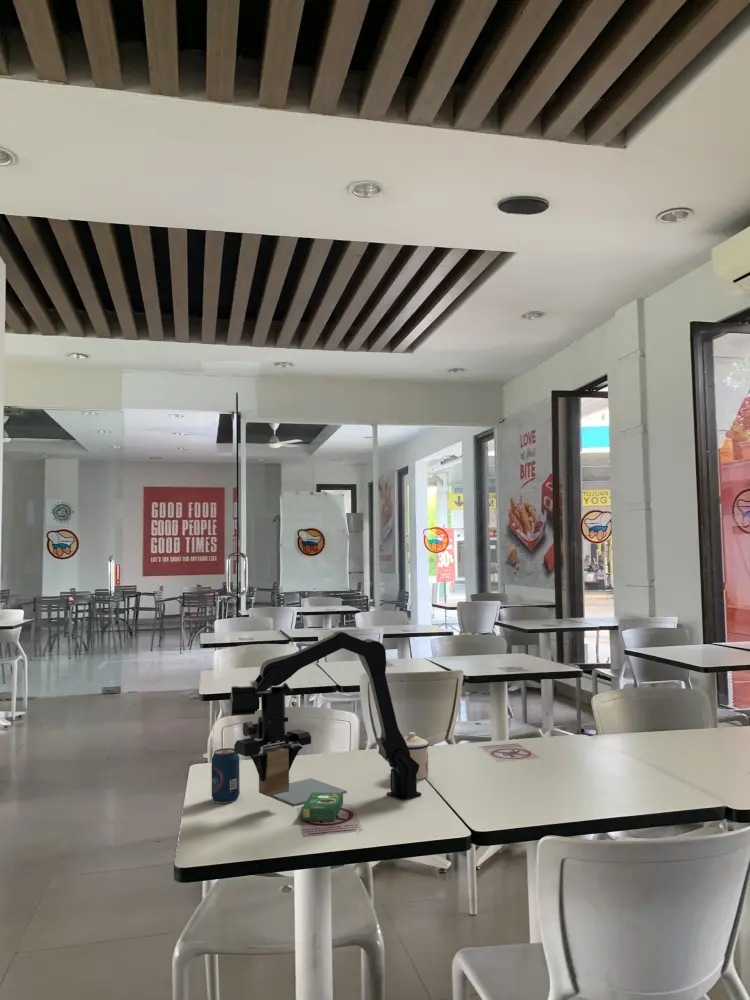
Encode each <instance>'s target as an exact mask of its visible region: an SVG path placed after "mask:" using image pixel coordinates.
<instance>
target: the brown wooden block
mask: <svg viewBox="0 0 750 1000" xmlns="http://www.w3.org/2000/svg"><path fill="white" fill-rule="evenodd" d="M263 753H265V754H267V760H266V774H265V781H264V782H262V781H261V780H260V777H259V776H258V793H259V794H261V795H264V796H266V797H272V796H271V795H275V794H279V793H283V792H288V791H289V783H290V770H289V749H288V748H285V747H282V746H280V745H277V746H272V747H267V748H263Z"/></svg>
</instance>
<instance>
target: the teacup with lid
mask: <svg viewBox="0 0 750 1000" xmlns="http://www.w3.org/2000/svg"><path fill="white" fill-rule="evenodd" d="M403 738H404V740H405V742H406V744H407V747H408V749H409V751H410V757H411V758H412V759H414V760H415V761H416V762H417V763H418V764H419V770H418V773H417V774H416V781H417V780H423V779H427V778H428V776H429V750H428V749H429V742H428V740H426V739H424V738H421V737H420V736H417V735H416V733H415V732H413V731H410V732H408V733H407V736H404V737H403Z"/></svg>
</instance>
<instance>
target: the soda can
mask: <svg viewBox="0 0 750 1000" xmlns="http://www.w3.org/2000/svg"><path fill="white" fill-rule="evenodd" d="M240 774H241V773H240V754H237V753H234V748H231V747H230V748H219V749H215V750H214V751H213V755H212V757H211V798H212V800H214V802H215V803H217V804H229V803H233V802H235V801H237V800H238V798H239V796H240V794H241V790H240V789H241V788H240Z"/></svg>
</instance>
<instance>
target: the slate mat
mask: <svg viewBox="0 0 750 1000" xmlns="http://www.w3.org/2000/svg"><path fill="white" fill-rule="evenodd" d="M347 792H348V791H347V790H346V789H342V788H340V787H337V786H334V785H331V784H328V783H326V782H323V781H321V780H317V779H315V778H312V777H310V778H307V779H302V780H298V781H293V782H289V791H288V792H283V793H279V794H275V795H271V796H270V797H272V798H275V799H277V800H279V801H281V802H284V803H287V804H289V805H291V806H293V807H294V806H295V807H296V806H298V805H304V804H305V803H306V801H307V800H308V798H309V797H310V795H311V793H343V794H346V793H347Z"/></svg>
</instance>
